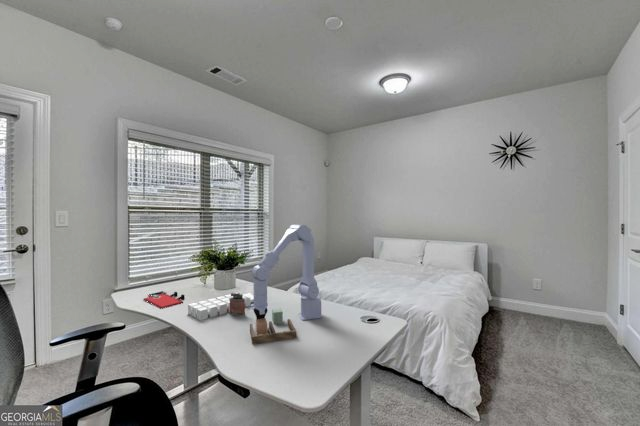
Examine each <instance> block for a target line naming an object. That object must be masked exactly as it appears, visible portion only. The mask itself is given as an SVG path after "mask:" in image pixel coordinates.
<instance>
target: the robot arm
mask: <svg viewBox="0 0 640 426" xmlns="http://www.w3.org/2000/svg"><path fill="white" fill-rule="evenodd" d="M296 241H299V242H300V243H301V244H302V277H301V278H300V280H299V285H298V289H297V290H298V292H299V294H300V312H299V313H298V316H299V317H300V319H301V320H303V321H305V320H307V321H308V320H313V319H321V318H323V316H322V299H321V297H320V296H319V294H320V290H319V286H318V282H317V281H318V280H316V278H315V238H314V236H313V234H312V229H311V228H310V227H309V226H308V225H306V224H297V223H293V224H290V226H289V228H288V229H286V231H285V233H284V235H283V236H282V238H281V239H280V240H279V241H278V243H277V244H276V246H275V247H274V248H273V250H269V251H268V252H265V253H264V255H265V256H264V257H263V258H262V259H261V261H259V262H258V263H257V265H255V266H253V268H252V270H251V276H252V278H253V295H254V302H253V303H250V308H253V312H254V315H255V319H263V318H266V315H267V313H268V278H269V277H270V274H271V271H272V269H273V268H274V266H276V264H277V263H278V261H279V260H280V255H281V254H282V253H283V251H285V250H286V248H287V247H288V246H289V244H291V243H292V242H296Z"/></svg>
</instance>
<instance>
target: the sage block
mask: <svg viewBox="0 0 640 426" xmlns="http://www.w3.org/2000/svg"><path fill="white" fill-rule="evenodd" d="M271 310H272V312H271V318H272V319H271V320H272V321H271V322H272V324H273V325H275V324H277V325H278V324H283V321H284V320H283V309H281V308H277V309H276V308H275V309H271Z"/></svg>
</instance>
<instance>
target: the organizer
mask: <svg viewBox="0 0 640 426" xmlns="http://www.w3.org/2000/svg"><path fill="white" fill-rule="evenodd" d="M235 293H236V294H237V293H238V292H235ZM231 297H233V296H231V293H229V294H226V295H224V296H223V295H222V296H216V298H213V297H212V298H209V299H206V300H200V301H197V303H196V302H193V303H188V304H187V314H188V315H190V316H192V317H194V319H195V318H196V319H197V320H199V321H203V320H207V319H208V317H209V318H211V319H212V318H214V317H218V315H224V314H227V312H230V300H229V298H231ZM242 298H245V308H248V307H251V303H254V294H252V292H247V293H245V294H244V293H243V297H242Z"/></svg>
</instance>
